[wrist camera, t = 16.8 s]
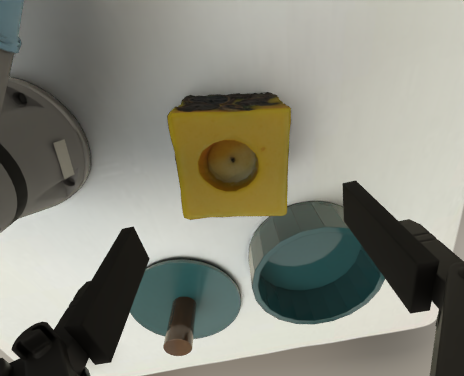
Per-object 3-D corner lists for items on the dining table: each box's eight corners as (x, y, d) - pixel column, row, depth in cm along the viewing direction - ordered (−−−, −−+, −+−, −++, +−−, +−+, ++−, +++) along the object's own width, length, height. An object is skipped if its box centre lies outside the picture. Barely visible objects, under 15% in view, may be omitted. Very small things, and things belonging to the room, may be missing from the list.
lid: (153, 340, 48) (141, 391, 41) (109, 269, 40) (83, 318, 33) (250, 322, 47) (255, 372, 39) (225, 245, 38) (225, 290, 31)
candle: (271, 174, 33) (289, 218, 24) (193, 178, 33) (182, 223, 24) (274, 90, 28) (297, 106, 19) (183, 94, 28) (164, 113, 19)
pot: (260, 299, 44) (265, 333, 39) (237, 216, 36) (239, 244, 31) (364, 279, 42) (384, 311, 37) (364, 188, 34) (390, 213, 29)
